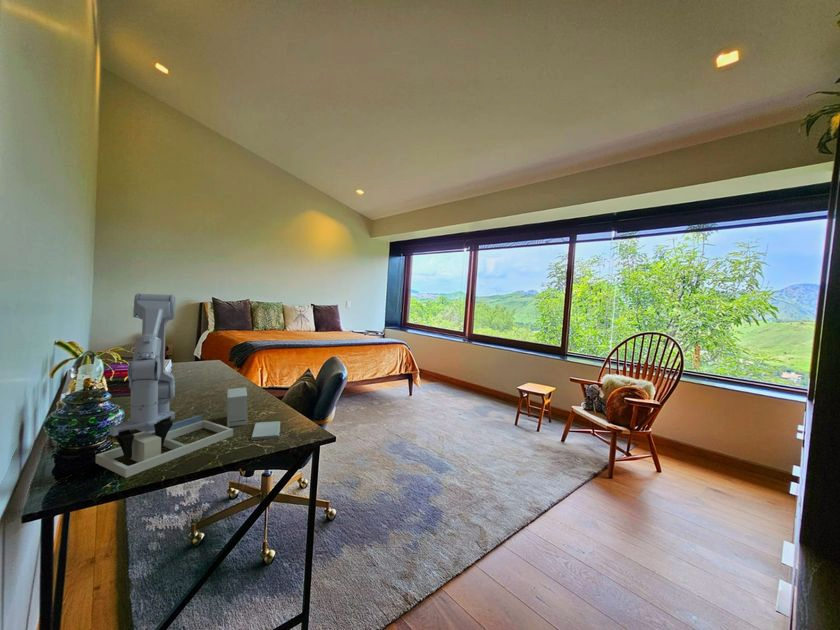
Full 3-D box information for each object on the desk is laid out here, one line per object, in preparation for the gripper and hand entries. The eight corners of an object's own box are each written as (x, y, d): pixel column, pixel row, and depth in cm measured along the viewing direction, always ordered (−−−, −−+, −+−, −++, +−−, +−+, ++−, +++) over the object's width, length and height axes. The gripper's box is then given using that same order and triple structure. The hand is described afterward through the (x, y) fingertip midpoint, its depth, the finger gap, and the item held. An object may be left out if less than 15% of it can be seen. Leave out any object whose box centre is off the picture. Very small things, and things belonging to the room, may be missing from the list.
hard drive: (279, 435, 111) (280, 420, 123) (251, 437, 108) (255, 422, 120) (279, 440, 111) (280, 425, 123) (250, 442, 108) (254, 426, 120)
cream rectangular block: (127, 457, 94) (127, 436, 93) (143, 451, 97) (144, 431, 97) (144, 465, 90) (144, 443, 90) (160, 459, 94) (161, 437, 94)
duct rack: (93, 461, 90) (93, 447, 90) (202, 425, 117) (202, 414, 116) (125, 477, 84) (125, 462, 84) (233, 435, 111) (233, 423, 110)
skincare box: (226, 416, 126) (227, 388, 125) (246, 414, 129) (246, 387, 128) (226, 427, 117) (226, 396, 116) (247, 424, 120) (248, 395, 119)
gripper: (120, 414, 85) (120, 467, 86) (181, 399, 98) (181, 445, 99) (104, 408, 88) (104, 460, 88) (166, 394, 101) (166, 439, 102)
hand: (144, 452), depth 94 cm, fingers open, 7 cm apart
